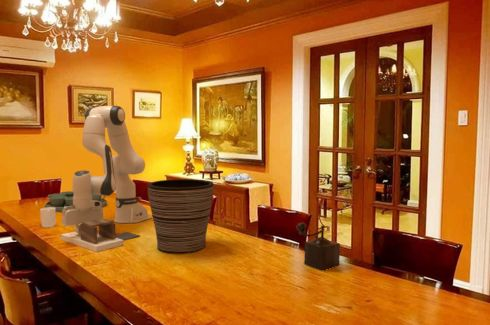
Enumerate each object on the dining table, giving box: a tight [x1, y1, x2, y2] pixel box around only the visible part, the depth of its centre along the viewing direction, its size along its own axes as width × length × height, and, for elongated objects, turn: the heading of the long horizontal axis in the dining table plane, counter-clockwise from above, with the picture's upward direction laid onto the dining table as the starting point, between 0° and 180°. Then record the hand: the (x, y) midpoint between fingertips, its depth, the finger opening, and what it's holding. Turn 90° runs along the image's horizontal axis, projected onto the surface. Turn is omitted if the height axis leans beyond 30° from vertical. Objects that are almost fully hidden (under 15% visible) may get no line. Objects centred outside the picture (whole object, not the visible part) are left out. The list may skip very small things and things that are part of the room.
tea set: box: [44, 190, 108, 213], centre depth 285 cm, size 40×40×16 cm
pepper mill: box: [296, 222, 341, 271], centre depth 165 cm, size 16×11×18 cm
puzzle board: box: [60, 231, 124, 253], centre depth 198 cm, size 14×32×2 cm, turn 51°
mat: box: [116, 231, 141, 242], centre depth 208 cm, size 11×11×1 cm
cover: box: [79, 218, 117, 244], centre depth 194 cm, size 11×12×8 cm
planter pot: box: [147, 178, 215, 255], centre depth 190 cm, size 30×30×30 cm
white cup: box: [39, 207, 57, 228], centre depth 229 cm, size 8×8×10 cm
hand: (83, 231), depth 202 cm, fingers closed on block, 4 cm apart
